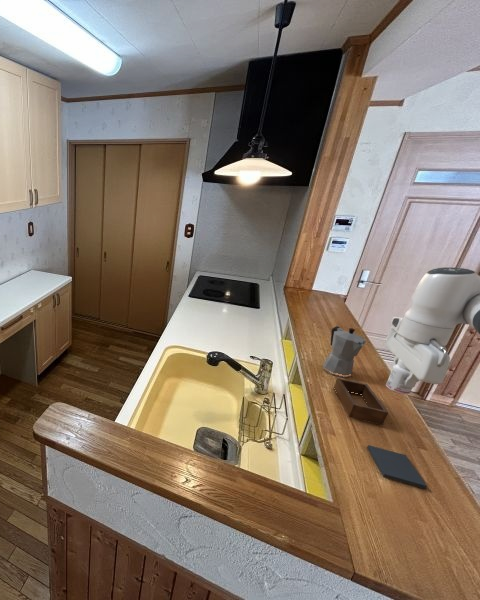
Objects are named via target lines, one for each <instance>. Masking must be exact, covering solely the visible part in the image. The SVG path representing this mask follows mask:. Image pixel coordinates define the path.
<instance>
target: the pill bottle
mask: <svg viewBox="0 0 480 600" xmlns="http://www.w3.org/2000/svg"><path fill="white" fill-rule="evenodd" d="M409 373H410V370H409V369H408V368H407V367H406V366H405V365H404V364H403V361H402V360H401V359H399V360H398V363H397V364H396V365H394V364H393V367H392V369H391V372H390V373H389V376H388V379H387V380H386V383H385V387H387V389H389V390H390V391H392V392H394V393H397V394H400V395H409V394H411V392H412V390H413V388H411V387H407V386H405V385H404V383H403V381H404V378H408V377H409V376H410V374H409Z"/></svg>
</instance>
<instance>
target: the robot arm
mask: <svg viewBox="0 0 480 600" xmlns="http://www.w3.org/2000/svg"><path fill="white" fill-rule="evenodd" d="M390 324H391V326H390V328H389V330H388V332H387V335H386V339H385V347H386V349H387V350H388V351H389V352H390V353H392V354H393V356H394V357H393V366H394V365H396V364H397V363H398V360H399V359H401V360H402V361H403V364H404V365H405V366H406V367H407V368H408V369H409V370H410V373H409V374H410V376H409V377H408V378H404V381H403V383H404V385H405V386H407V387H411V388H412V389H413V388H415V387H416V385H417V383H418V382H422V383H426V384H430V385H431V384H432V385H440V384H441V383H443V381H444V380H445V377H446V375H447V372H448V369H449V366H450V363H451V357H450V355H449V354H448V352H447V350H448V349H447V347H446V346H447V345H448V344H449V342H450V339H451V337H452V335H453V333H454V331H455V329H456V327H457V325H459V324H460V325H461V324H464V325H469V326H470V327H471V328H473V329H474V330H475V331H476V332H477V333H478V334H479V335H480V275H479V274H478V273H477V272H476V271H475V270H472V269H469V268H464V267H436V268H432V269H430V270H428V271H427V272H425V274H424V275H423V276H422V278H421V279H420V281H419V282H418V284H417V285H416V288H415V289H414V291H413V293H412V296H411V298H410V306H409V308H408V310H407V311H406V312H405V313H404V315H403V317H399V316H393V317H392V319H391V321H390Z"/></svg>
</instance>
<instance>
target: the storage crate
mask: <svg viewBox="0 0 480 600" xmlns="http://www.w3.org/2000/svg"><path fill="white" fill-rule="evenodd" d="M334 388H335V389H334ZM335 390H336V391H335ZM333 391H334V393H335V395H336V396H337V398H338V400H339V402H340V404H341V406H342V407H343V409H344V411H345V413H346V415H347V417H349V418H351V419H356V420H360V421H363V422H369V423H372V424H377V425H380V426H384V424H385V422H386V420H387V418H388V415H389V411H388V410H387V409H386V407H385V406H384V404H383V403H382V402H381V400H380V399H379V398H378V396H377V395H376V394H375V392H374V391H373V390H372V388H371V387H370V385H369V384H368V383H363V382H358V381H354V380H349V379H346V378H341V377H337V378H336V381H335V383H334V385H333ZM348 391H349V392H348ZM336 392H337V393H336ZM351 392H354V393H351ZM355 393H358V394H355ZM360 394H362V395H360ZM352 395H355V396H359V397H360V398H362V401H363V402H364V403H365V405H362V404H359V403H356V402H355V400H354V399H353V397H352ZM362 396H363V397H362ZM364 399H365V400H364ZM366 402H367V403H366Z"/></svg>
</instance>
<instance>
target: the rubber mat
mask: <svg viewBox="0 0 480 600" xmlns="http://www.w3.org/2000/svg"><path fill="white" fill-rule="evenodd" d="M366 449H367V451H368V452H369V455H370V456H371V458H372V459H373V461H374V463H375V465H376V467H377V469H378V471H379V472H380V474H381V476H382V477H383V478H385V479H390V480H393V481H396V482H400V483H403V484H405V485H406V484H407V485H410V486H413V487H417V488H419V489H423V490H426V489H427V488H428V484H427V483H426V481H424V479H423V477H422V476H421V474H419V472H418V470H417V469H416V467H415V466H414V465H413V463H412V462H411V460H410V459H409V457H408V456H407V455H406V454H404V453H400V452H396V451H393V450H390V449H384V448H381V447H378V446H374V445H371V444H368V445H367V446H366Z"/></svg>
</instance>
